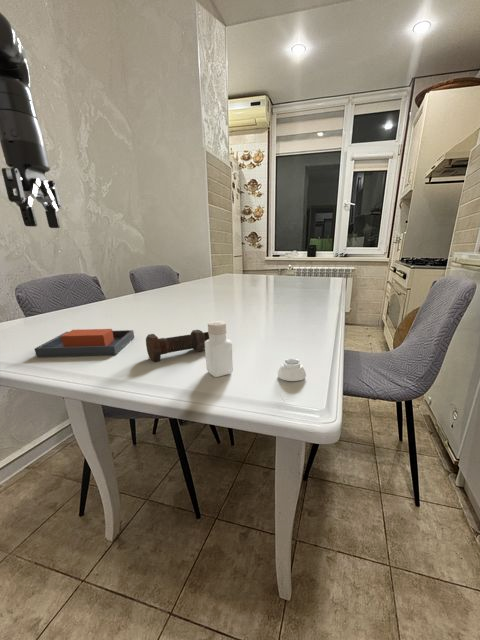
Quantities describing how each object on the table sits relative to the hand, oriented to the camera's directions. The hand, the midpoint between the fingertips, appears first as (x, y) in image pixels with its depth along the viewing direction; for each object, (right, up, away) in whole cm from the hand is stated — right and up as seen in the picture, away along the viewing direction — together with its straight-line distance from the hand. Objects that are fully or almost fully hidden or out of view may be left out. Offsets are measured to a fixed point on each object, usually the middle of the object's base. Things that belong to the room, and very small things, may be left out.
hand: (43, 227), depth 66 cm
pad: (+10, -27, +1) cm, 29 cm away
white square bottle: (+42, -32, -12) cm, 54 cm away
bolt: (+33, -29, -2) cm, 44 cm away
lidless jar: (+55, -33, -14) cm, 66 cm away
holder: (+10, -27, +1) cm, 29 cm away
